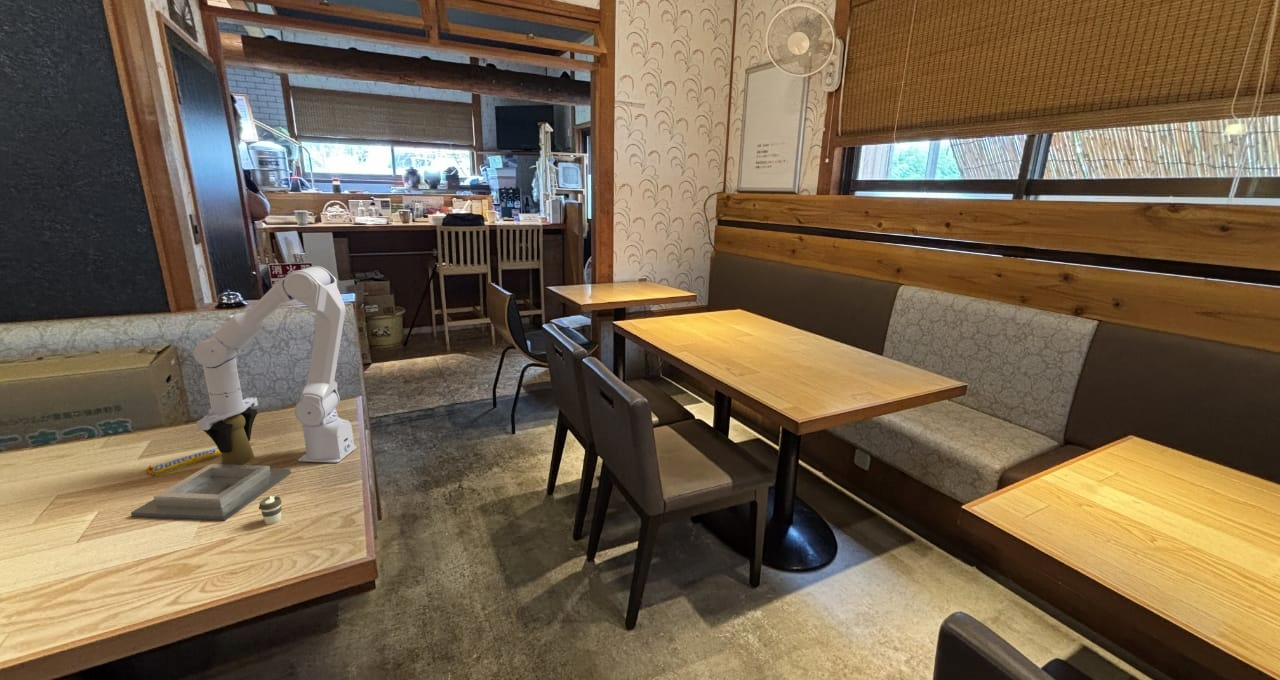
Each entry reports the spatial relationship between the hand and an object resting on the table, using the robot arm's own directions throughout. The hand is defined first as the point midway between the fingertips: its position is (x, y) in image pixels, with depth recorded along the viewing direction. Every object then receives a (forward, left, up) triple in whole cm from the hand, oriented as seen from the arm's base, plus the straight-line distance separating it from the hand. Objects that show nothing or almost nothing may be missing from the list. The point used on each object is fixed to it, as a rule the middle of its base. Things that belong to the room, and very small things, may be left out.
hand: (235, 446), depth 120 cm
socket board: (-7, +14, -3) cm, 16 cm away
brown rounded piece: (0, 0, -4) cm, 4 cm away
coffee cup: (-25, +22, -4) cm, 34 cm away
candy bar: (+9, +1, -4) cm, 10 cm away
